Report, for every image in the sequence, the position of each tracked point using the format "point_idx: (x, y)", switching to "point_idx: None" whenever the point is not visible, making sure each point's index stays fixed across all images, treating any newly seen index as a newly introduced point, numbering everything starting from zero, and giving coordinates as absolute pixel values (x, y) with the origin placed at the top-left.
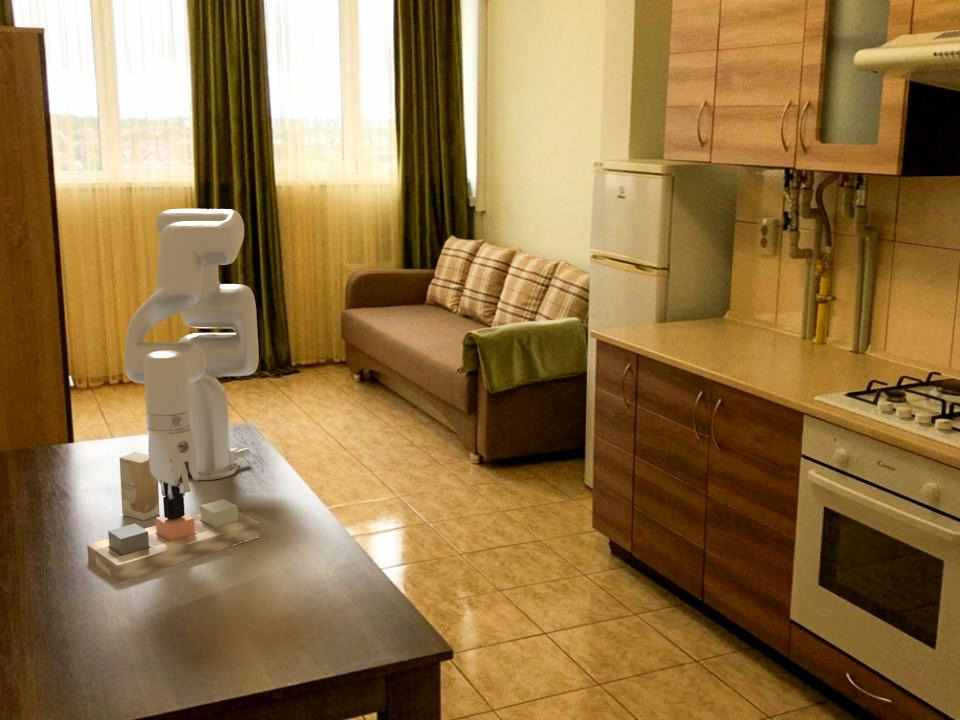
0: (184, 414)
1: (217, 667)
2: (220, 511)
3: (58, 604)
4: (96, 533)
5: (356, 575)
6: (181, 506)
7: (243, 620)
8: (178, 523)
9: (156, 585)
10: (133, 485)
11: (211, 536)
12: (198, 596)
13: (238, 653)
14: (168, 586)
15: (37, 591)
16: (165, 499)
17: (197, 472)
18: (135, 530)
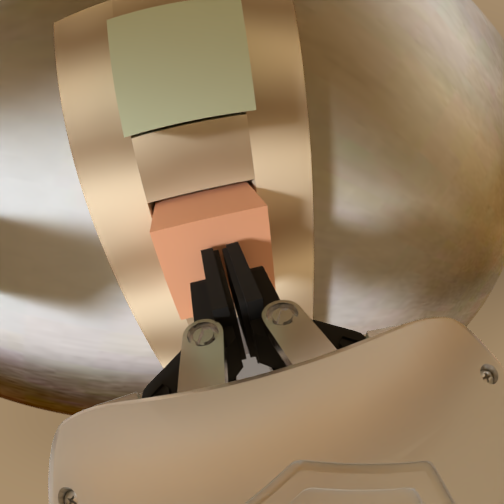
0: None
1: (492, 262)
2: (251, 76)
3: None
4: (49, 341)
5: (483, 32)
6: (270, 282)
7: (482, 214)
8: (272, 265)
9: (353, 289)
10: None
11: (305, 148)
12: (423, 241)
13: (496, 241)
14: (370, 273)
15: None
16: (243, 359)
17: (491, 353)
18: (253, 365)
